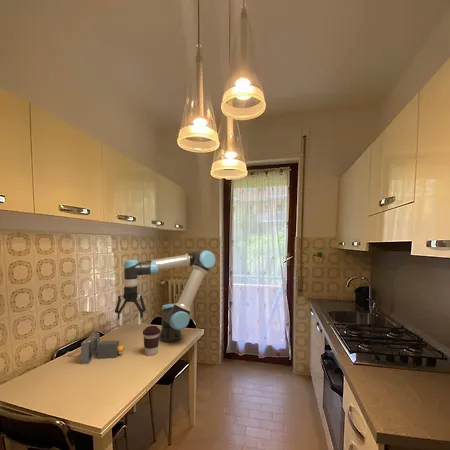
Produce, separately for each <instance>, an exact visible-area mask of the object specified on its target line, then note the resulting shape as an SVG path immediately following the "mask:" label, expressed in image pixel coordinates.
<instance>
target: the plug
mask: <svg viewBox="0 0 450 450" xmlns="http://www.w3.org/2000/svg"><path fill="white" fill-rule="evenodd" d="M124 349H125V346H124V345H120V340H104V341H103V340H101V341H99V344H98V354H97V359H98V360H102V359H103V360H105V359H116V358H117V357H118V356H119V355H120V353H123V352H124Z"/></svg>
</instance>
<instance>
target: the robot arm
mask: <svg viewBox="0 0 450 450" xmlns="http://www.w3.org/2000/svg"><path fill="white" fill-rule="evenodd" d="M215 264H216V256H215V254H214V253H213V252H212V251H210V250H207V249H206V250H195V251H192V252H191V251H190V252H186V253H185V254H183V255H176V256H171V257H170V256H169V257H163V258H156V259H150V260H141V261H138V260H137V259H126V260H125V261H124V266H123V269H124V270H123V272H124V274H123V275H124V277H123V278H124V279H123V294H122V295H121V294H119V295H118V296H117V303H116V306H115V309H114V313H115V314H117V319H118V320H119V326H122V325H123V312H122V311H123V309H124V308H125V306H126V304H127V303H134V304H135V306H136V307H137V309H138V325H141V323H142V318H143V317H144V316H143V315H144V314H143V313H144V312H146V310H147V308H146V306H145V301H144V295H143V294H138V280H139V279H138V276H150V275H151V276H152V275H156V274H158V272H159V271H161V270H166V269H173V268H178V267H179V268H180V267H185V266H186V267H192V268H193V269H192V270H191V271H192V272H191V273H190V275H189V278H188V280H187V282H186V284H185V286H184V288H183V290H182V293H181V295H180V297H179V299H178V301H177V302H175V303H167V304H163V305H162V307H161V330H160V333H159V341H160V342H162V343H174V342H178V341H180V340H181V339H182V335H183V334H182V331H181V330H184V329H185V328H186V327H187V326H188V325H189V322H190V316H189V315H191V314H190V313H191V305H192V303H193V301H194V299H195V297H196V295H197V292H198V290H199V288H200V285H201V283H202V281H203V279H204V278H205V275H206V274H208V273H209V271H210V269H211V268H213V267H214V266H215ZM123 299H124V301H123V303H122V300H123ZM138 300H139V301H140V303H139V301H138ZM121 303H122V304H121ZM120 305H121V307H120Z"/></svg>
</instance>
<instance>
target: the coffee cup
mask: <svg viewBox="0 0 450 450" xmlns="http://www.w3.org/2000/svg"><path fill="white" fill-rule="evenodd" d="M160 332H161V330H160V328H159V327H158V326H157V325H149V326H146V327H145V328H144V329H143V330H142V335H143V347H144V354H145V355H146V356H148V357H151V356H154V355H157V354H158V352H159V351H158V350H159V341H160V340H159V335H160Z"/></svg>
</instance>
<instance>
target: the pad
mask: <svg viewBox="0 0 450 450" xmlns="http://www.w3.org/2000/svg"><path fill="white" fill-rule="evenodd" d="M71 352H72V353H71ZM63 356H68V357H79V356H80V357H81V350H80V351H79V350H77V351H67V352H66V353H65V354H64V355H63Z"/></svg>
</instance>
